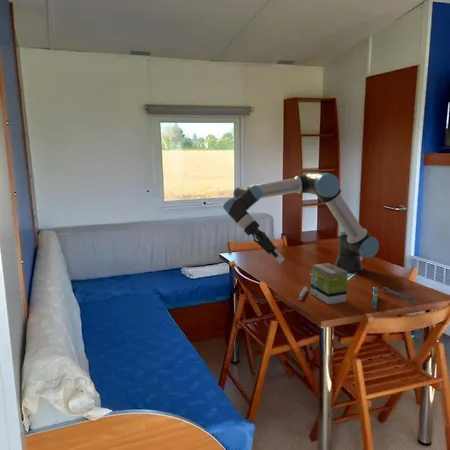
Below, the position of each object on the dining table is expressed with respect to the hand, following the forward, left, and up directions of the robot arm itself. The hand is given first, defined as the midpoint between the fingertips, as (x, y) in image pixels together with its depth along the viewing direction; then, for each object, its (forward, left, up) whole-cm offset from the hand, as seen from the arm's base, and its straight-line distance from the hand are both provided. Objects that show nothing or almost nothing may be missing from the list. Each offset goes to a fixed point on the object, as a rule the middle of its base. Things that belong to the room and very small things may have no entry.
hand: (282, 261), depth 199 cm
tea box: (0, +22, -16) cm, 27 cm away
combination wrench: (-11, +53, -16) cm, 56 cm away
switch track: (0, +27, -16) cm, 31 cm away
